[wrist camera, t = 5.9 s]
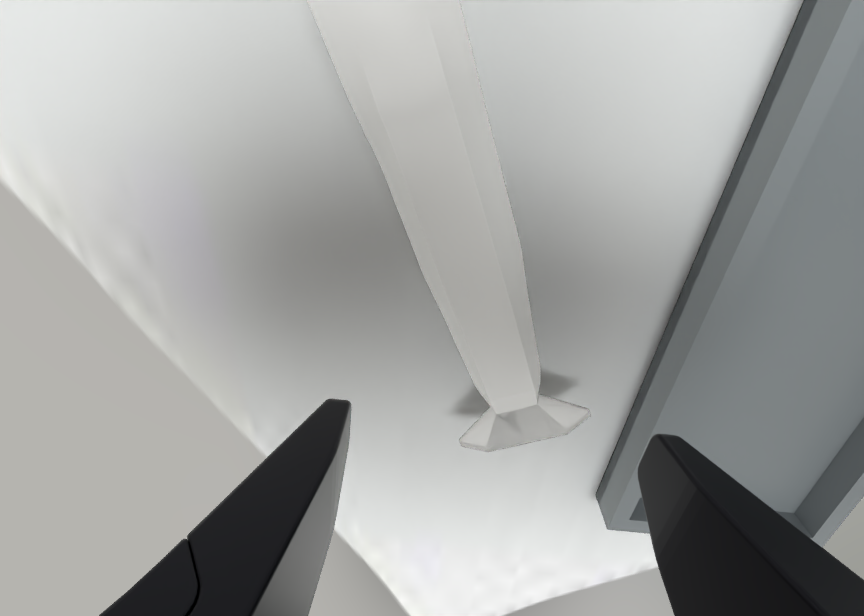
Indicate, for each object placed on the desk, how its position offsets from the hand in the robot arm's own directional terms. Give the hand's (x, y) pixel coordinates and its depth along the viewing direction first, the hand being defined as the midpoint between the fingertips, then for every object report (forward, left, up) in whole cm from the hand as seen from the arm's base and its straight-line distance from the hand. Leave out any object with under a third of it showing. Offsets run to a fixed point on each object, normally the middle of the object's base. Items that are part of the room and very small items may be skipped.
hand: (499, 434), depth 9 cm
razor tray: (-14, +2, -11) cm, 18 cm away
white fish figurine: (0, 0, -11) cm, 11 cm away
